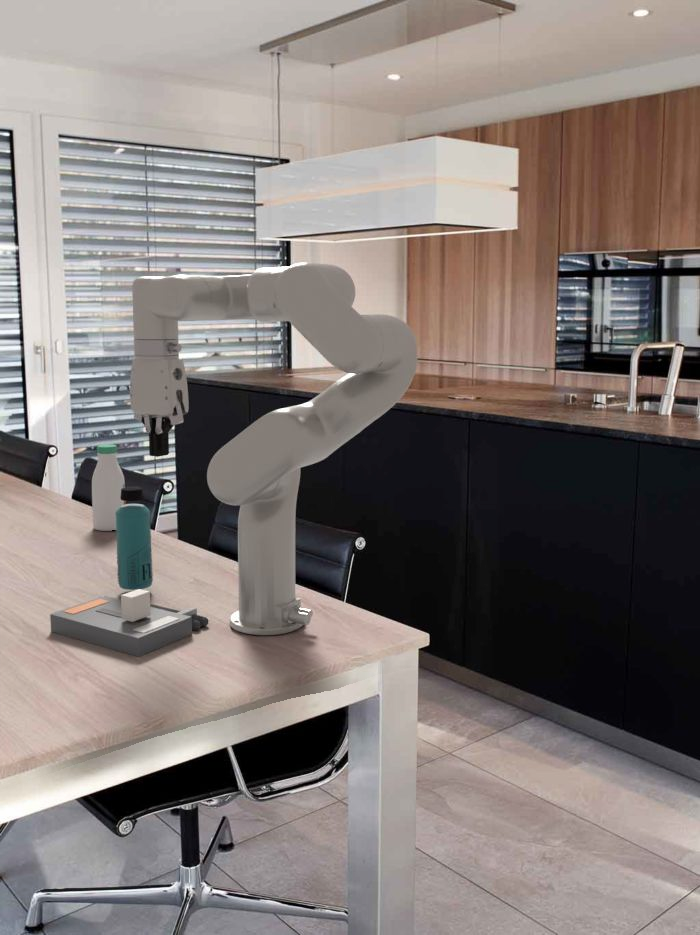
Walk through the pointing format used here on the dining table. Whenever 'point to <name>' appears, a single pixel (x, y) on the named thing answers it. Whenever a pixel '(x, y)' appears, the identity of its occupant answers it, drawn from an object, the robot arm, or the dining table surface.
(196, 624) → the dressed cords
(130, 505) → the beverage bottle
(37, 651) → the dining table surface
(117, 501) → the milk bottle
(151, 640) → the panel
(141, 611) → the block
